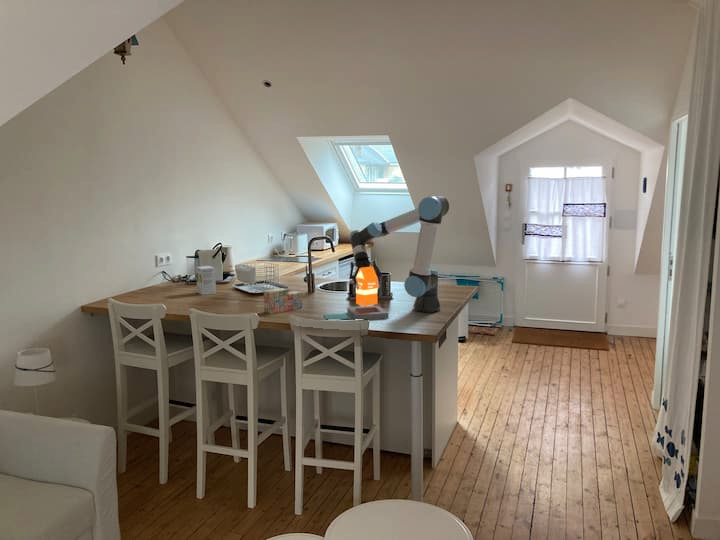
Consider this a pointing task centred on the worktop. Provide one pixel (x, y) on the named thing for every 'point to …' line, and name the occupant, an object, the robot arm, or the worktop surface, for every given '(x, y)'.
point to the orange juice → (366, 287)
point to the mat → (336, 316)
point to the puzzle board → (367, 312)
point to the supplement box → (206, 280)
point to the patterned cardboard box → (281, 300)
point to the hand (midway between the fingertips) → (368, 288)
